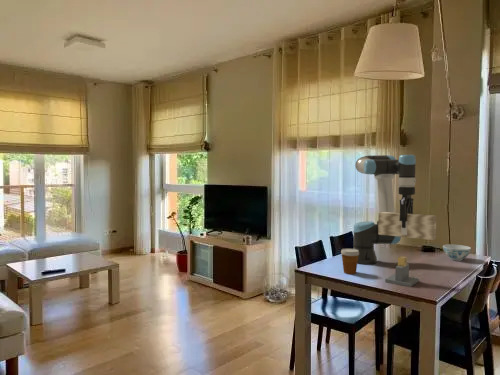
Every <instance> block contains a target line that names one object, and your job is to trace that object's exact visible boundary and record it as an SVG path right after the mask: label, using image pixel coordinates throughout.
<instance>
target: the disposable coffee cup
mask: <svg viewBox="0 0 500 375" xmlns="http://www.w3.org/2000/svg"><path fill="white" fill-rule="evenodd" d="M340 253H341V254H340V255H341V259H342V260H341V261H342V268H343V273H344V274H347V275H355V274H356V273H357V268H358V263H357V261H358V255H359V251H358V250H357V249H353V248H342V249H341V251H340Z"/></svg>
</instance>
